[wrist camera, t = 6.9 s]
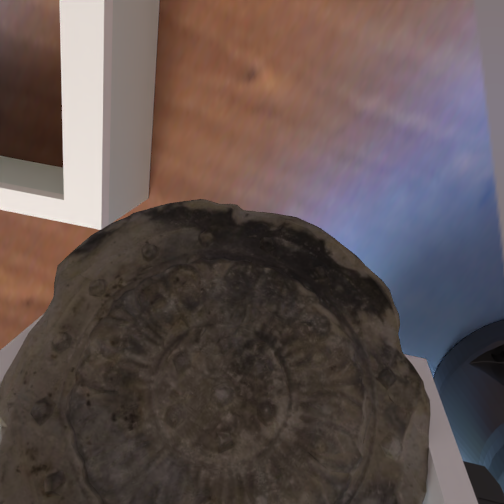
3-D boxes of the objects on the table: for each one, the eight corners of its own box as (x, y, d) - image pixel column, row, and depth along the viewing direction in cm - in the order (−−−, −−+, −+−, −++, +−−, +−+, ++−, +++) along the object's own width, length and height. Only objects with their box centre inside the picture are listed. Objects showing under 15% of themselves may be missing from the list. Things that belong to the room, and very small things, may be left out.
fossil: (409, 163, 12) (562, 698, 5) (384, 335, 18) (435, 656, 12) (39, 194, 13) (-202, 627, 7) (142, 342, 20) (72, 626, 14)
